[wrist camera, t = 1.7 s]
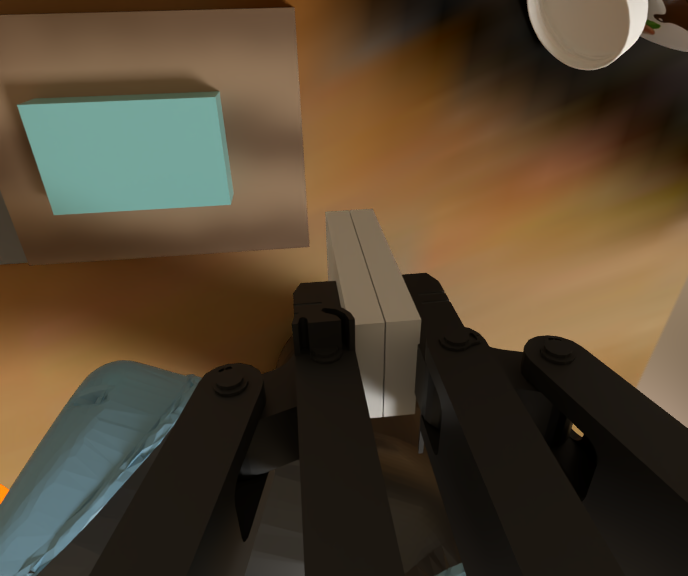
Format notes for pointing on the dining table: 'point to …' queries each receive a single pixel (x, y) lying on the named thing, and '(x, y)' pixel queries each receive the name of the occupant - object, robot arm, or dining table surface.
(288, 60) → the brown flat block
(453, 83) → the dining table surface
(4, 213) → the mat
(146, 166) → the card
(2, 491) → the orange juice
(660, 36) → the spread jar
